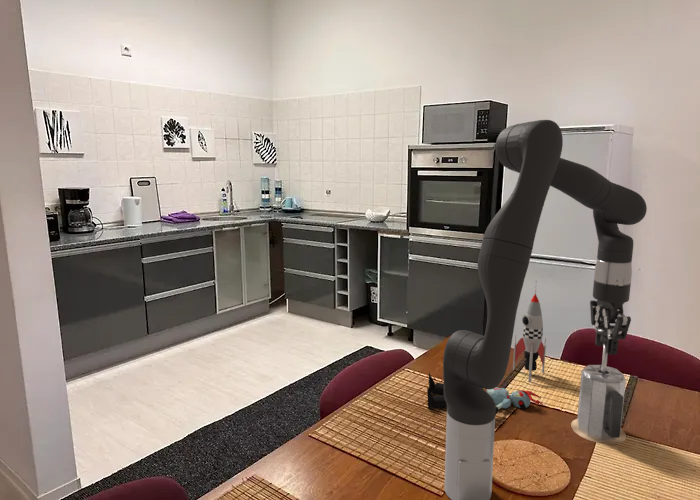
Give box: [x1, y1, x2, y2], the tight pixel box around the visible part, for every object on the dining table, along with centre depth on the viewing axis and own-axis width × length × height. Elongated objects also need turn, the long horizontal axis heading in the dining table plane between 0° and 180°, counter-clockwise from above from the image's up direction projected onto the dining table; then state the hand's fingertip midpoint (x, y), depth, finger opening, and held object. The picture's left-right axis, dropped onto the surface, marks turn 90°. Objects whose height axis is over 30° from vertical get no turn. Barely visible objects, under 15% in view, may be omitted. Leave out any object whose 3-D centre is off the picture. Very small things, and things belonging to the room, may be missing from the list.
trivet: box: [570, 418, 627, 445], centre depth 120 cm, size 12×12×1 cm
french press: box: [576, 364, 627, 441], centre depth 117 cm, size 12×10×15 cm
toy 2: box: [512, 280, 547, 382], centre depth 149 cm, size 9×8×30 cm
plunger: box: [595, 326, 614, 374], centre depth 116 cm, size 6×6×18 cm
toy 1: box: [426, 372, 544, 415], centre depth 134 cm, size 26×8×30 cm
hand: (605, 349), depth 116 cm, fingers closed on plunger, 4 cm apart
